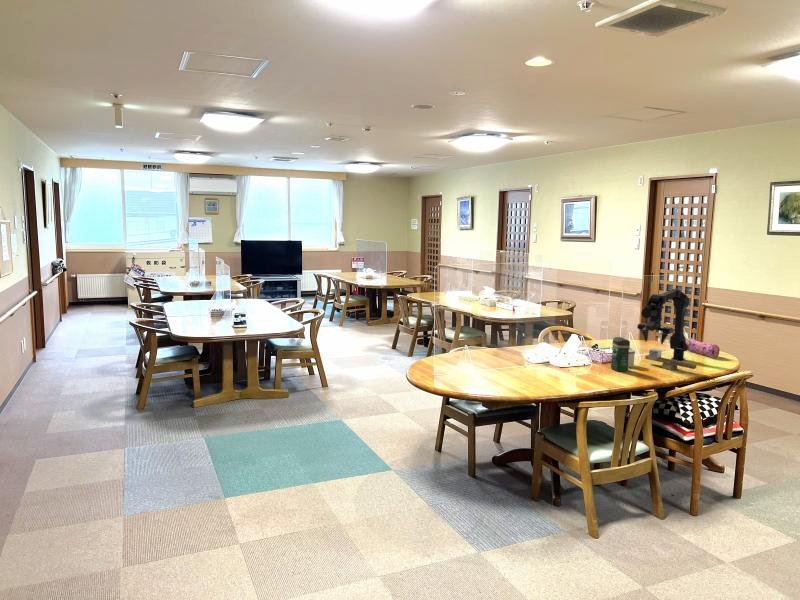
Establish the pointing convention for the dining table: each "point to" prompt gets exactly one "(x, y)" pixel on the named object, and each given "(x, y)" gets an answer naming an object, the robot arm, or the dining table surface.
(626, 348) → the coffee jar
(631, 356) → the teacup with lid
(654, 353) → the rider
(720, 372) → the dining table surface
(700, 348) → the pencil case
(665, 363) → the beam
